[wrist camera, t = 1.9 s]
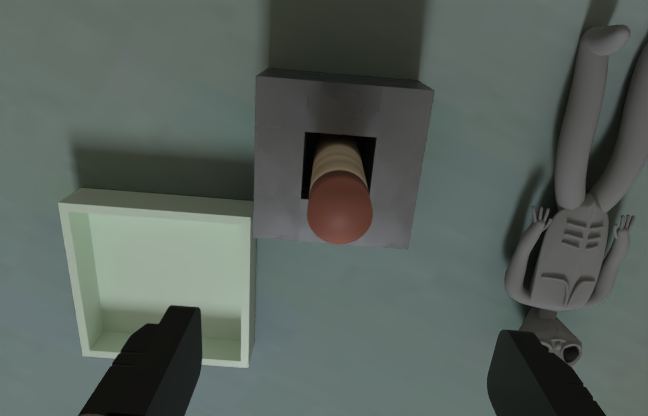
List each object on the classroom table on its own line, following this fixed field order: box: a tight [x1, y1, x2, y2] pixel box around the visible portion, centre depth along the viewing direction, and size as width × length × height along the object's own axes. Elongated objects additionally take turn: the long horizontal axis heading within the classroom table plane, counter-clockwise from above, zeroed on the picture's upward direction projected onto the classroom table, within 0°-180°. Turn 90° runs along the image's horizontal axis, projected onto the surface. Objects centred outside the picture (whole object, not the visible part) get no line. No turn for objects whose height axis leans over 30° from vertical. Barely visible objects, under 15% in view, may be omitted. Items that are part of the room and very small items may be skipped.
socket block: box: [253, 68, 434, 249], centre depth 29 cm, size 10×10×5 cm
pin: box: [307, 133, 373, 244], centre depth 26 cm, size 3×3×12 cm
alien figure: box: [505, 25, 648, 366], centre depth 31 cm, size 8×5×25 cm
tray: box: [58, 188, 257, 368], centre depth 34 cm, size 13×13×3 cm
